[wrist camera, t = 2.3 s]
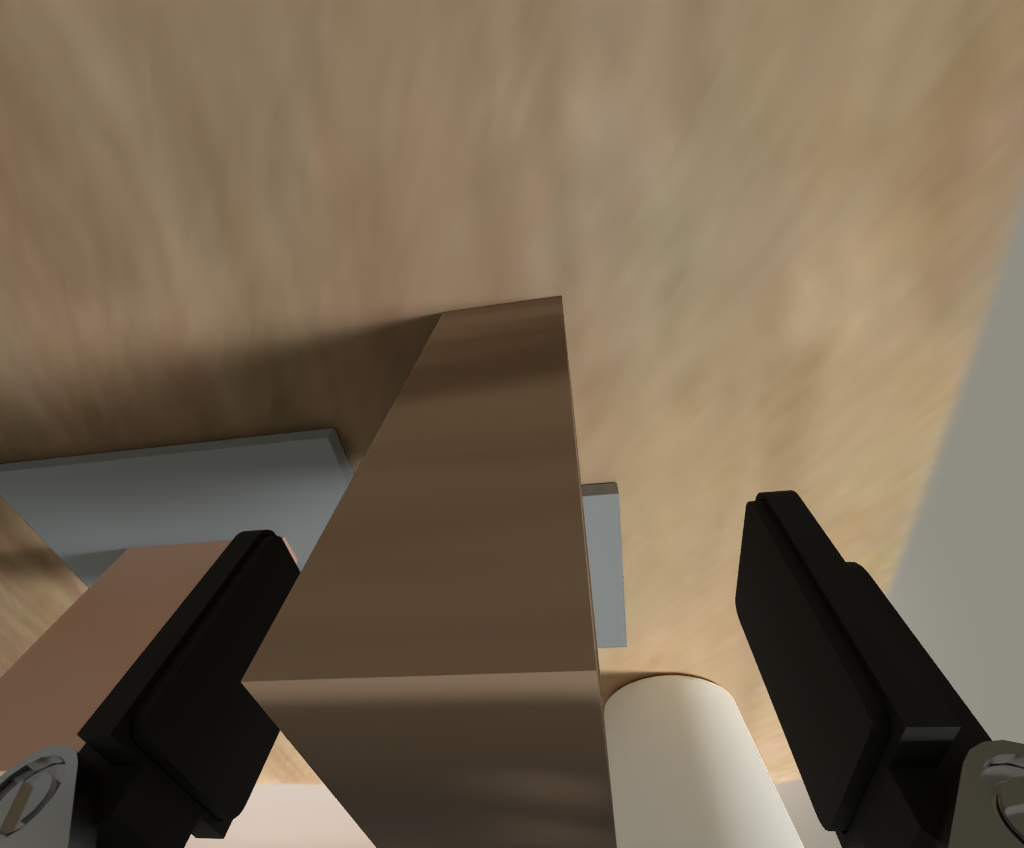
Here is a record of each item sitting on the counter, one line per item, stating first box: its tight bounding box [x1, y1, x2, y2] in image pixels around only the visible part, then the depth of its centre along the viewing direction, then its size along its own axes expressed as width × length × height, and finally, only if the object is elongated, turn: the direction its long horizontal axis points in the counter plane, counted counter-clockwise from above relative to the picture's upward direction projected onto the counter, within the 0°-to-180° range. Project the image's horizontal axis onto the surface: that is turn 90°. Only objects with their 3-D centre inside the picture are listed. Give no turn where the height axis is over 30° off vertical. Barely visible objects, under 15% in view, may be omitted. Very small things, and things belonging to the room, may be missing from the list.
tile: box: [0, 536, 298, 776], centre depth 16 cm, size 2×7×8 cm, turn 99°
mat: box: [0, 428, 354, 588], centre depth 21 cm, size 16×14×1 cm
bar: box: [241, 296, 617, 848], centre depth 10 cm, size 5×4×11 cm
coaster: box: [581, 483, 627, 648], centre depth 20 cm, size 9×9×1 cm
